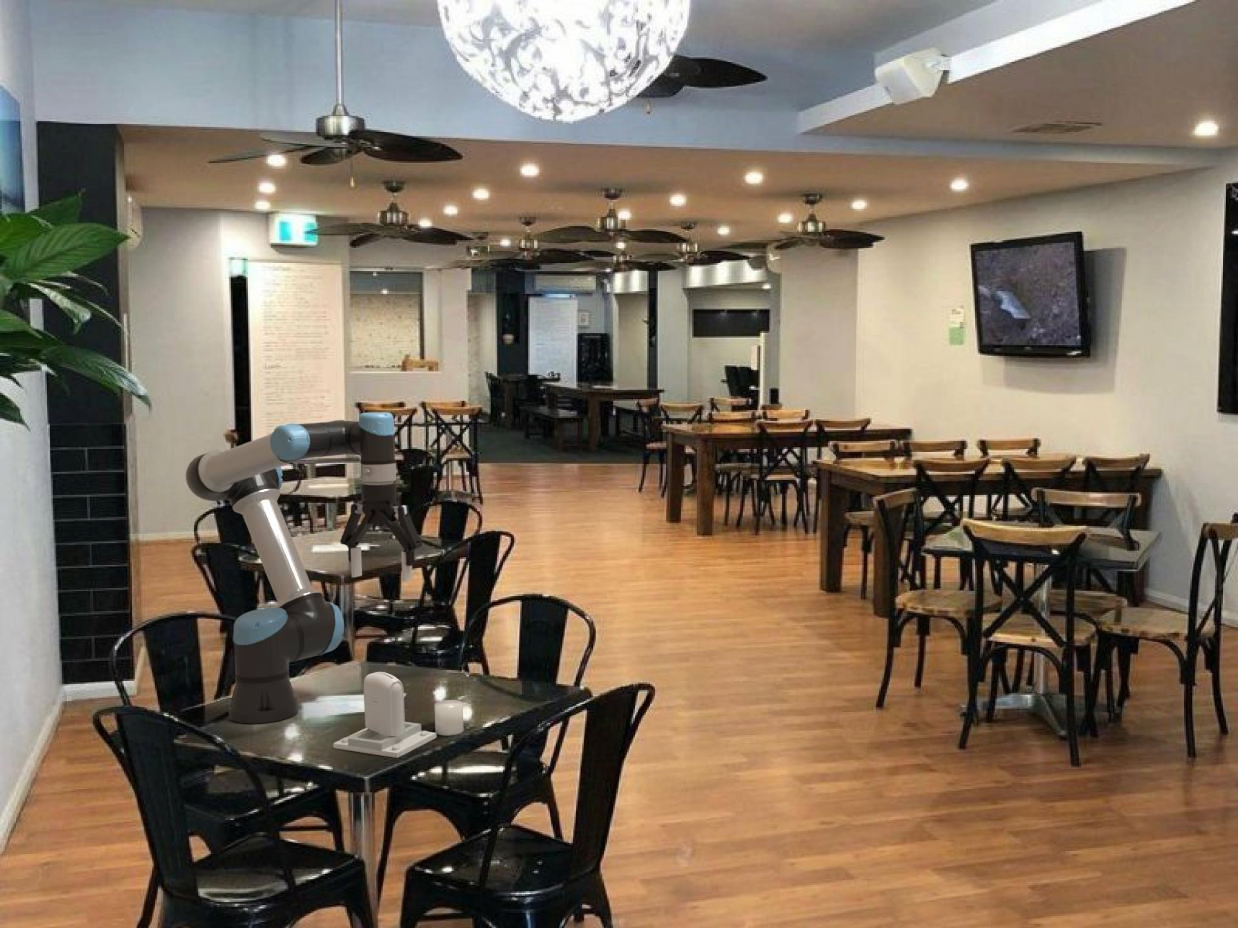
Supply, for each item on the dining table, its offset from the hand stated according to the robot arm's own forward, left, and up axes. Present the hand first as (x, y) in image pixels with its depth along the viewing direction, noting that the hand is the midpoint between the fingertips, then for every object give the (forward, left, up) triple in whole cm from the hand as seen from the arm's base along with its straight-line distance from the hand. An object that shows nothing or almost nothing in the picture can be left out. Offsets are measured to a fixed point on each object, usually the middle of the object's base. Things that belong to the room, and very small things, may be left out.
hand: (381, 578), depth 264 cm
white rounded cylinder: (+18, -2, -32) cm, 37 cm away
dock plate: (+10, -14, -32) cm, 36 cm away
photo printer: (+10, -14, -29) cm, 34 cm away
